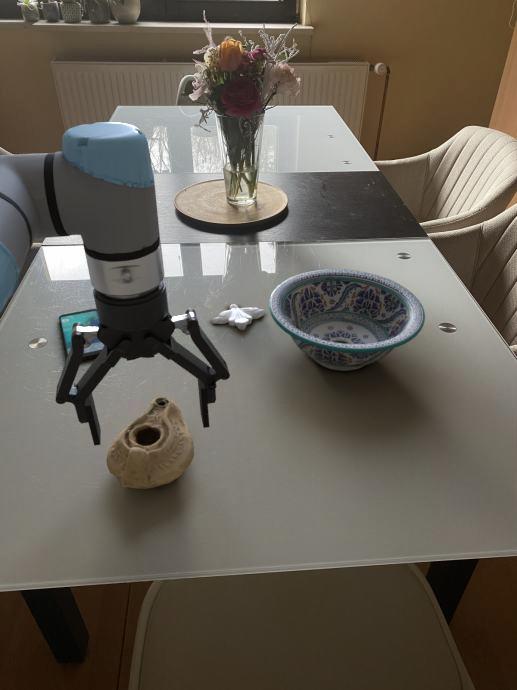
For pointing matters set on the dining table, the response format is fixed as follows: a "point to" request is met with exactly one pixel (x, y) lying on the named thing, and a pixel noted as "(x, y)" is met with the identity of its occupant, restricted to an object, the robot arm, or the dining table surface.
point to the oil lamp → (152, 447)
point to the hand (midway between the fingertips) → (152, 429)
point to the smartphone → (88, 320)
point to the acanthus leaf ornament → (238, 316)
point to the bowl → (346, 316)
